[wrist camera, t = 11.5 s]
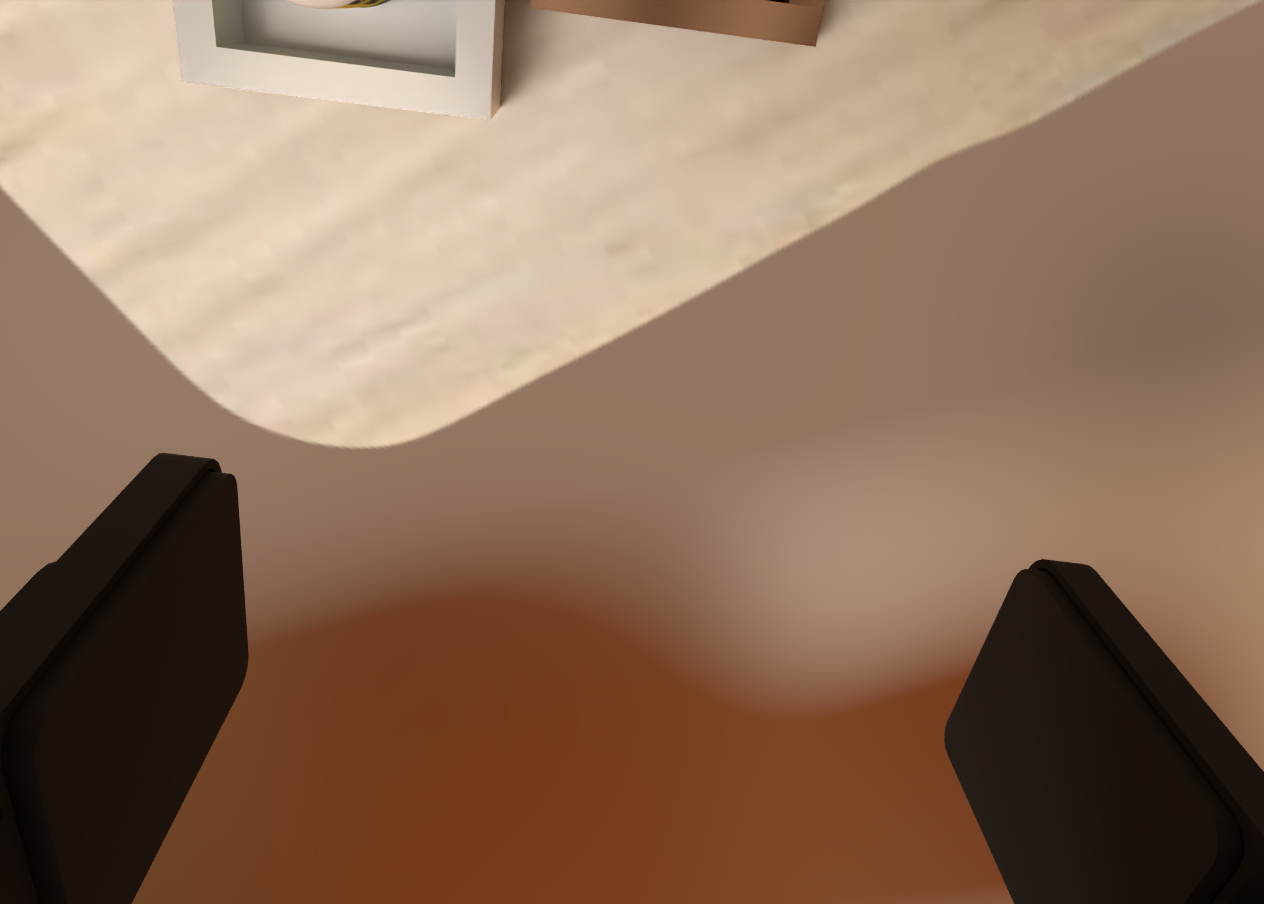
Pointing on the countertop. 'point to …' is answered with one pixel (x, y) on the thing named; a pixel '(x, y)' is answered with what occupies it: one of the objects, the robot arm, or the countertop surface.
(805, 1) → the tray
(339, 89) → the grey square open box
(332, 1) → the supplement bottle
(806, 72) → the countertop surface
